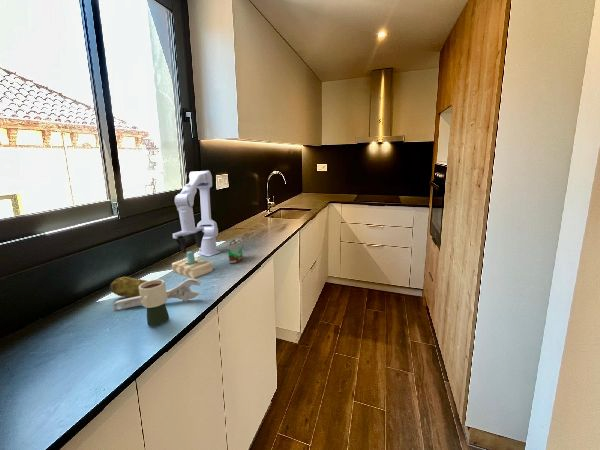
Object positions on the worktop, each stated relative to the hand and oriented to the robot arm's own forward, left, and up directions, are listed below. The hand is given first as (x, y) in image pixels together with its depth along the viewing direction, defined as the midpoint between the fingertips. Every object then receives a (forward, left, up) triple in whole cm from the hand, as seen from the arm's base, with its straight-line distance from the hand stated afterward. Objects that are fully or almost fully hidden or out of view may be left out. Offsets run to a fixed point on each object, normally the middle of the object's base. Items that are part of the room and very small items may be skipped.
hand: (191, 249), depth 129 cm
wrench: (+18, -26, -10) cm, 33 cm away
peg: (0, -1, -10) cm, 10 cm away
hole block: (0, -1, -10) cm, 10 cm away
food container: (+9, +19, -10) cm, 23 cm away
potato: (+2, -28, -10) cm, 30 cm away
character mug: (+29, -32, -10) cm, 45 cm away
